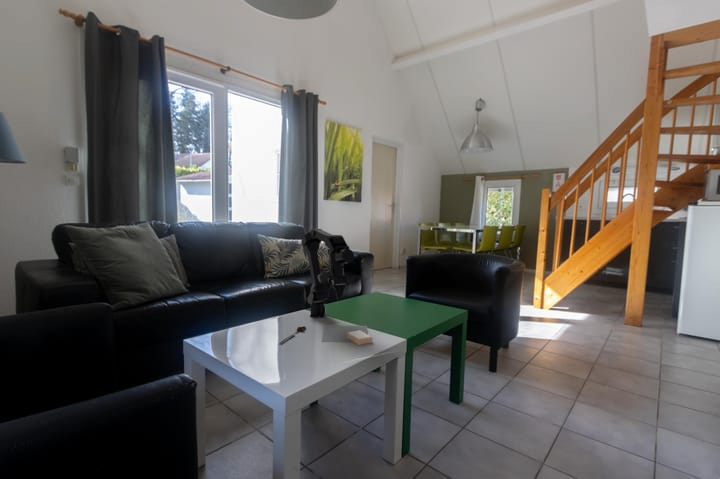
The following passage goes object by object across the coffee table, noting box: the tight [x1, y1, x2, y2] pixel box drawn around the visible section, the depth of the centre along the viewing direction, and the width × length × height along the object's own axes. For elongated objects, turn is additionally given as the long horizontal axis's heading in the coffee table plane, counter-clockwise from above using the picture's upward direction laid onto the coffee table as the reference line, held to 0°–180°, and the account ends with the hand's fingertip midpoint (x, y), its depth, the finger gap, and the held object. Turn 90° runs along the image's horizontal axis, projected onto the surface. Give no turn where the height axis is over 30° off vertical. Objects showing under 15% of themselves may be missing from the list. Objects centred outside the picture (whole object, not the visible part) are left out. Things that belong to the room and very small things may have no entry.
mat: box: [321, 324, 369, 343], centre depth 142 cm, size 18×20×1 cm
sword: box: [278, 325, 307, 346], centre depth 137 cm, size 25×4×2 cm, turn 162°
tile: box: [347, 330, 373, 346], centre depth 135 cm, size 2×6×9 cm
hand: (339, 300), depth 150 cm, fingers closed
